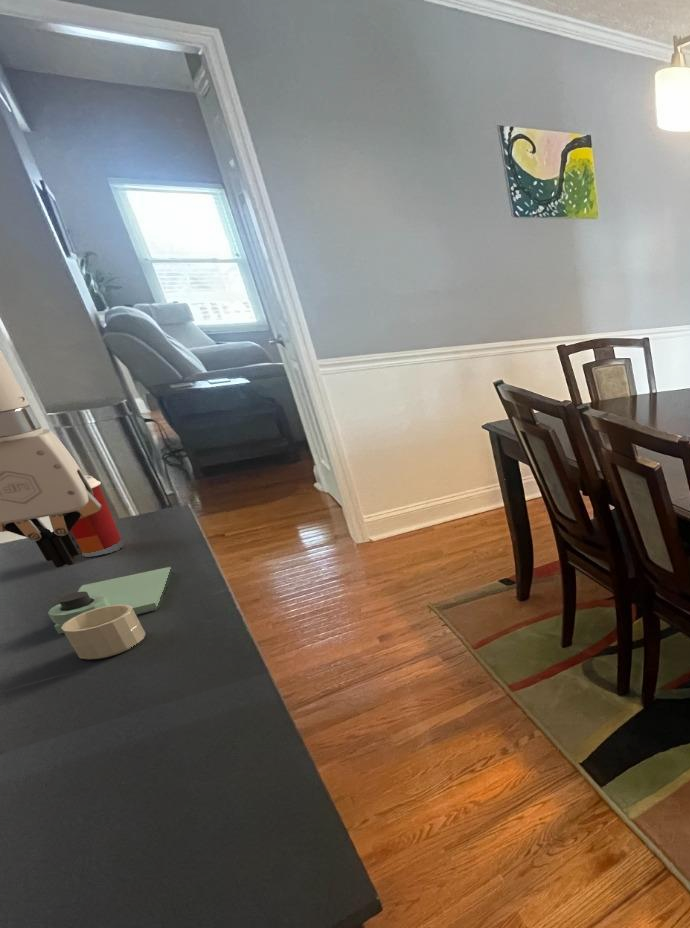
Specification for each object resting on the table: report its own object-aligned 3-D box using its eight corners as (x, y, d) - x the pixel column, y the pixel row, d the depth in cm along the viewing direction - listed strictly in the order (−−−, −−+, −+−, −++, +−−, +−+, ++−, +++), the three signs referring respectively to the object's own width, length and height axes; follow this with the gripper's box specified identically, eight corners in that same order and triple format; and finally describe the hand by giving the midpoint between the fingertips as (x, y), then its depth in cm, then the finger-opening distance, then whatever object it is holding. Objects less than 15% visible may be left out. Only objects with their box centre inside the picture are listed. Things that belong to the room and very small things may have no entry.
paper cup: (125, 539, 118) (92, 471, 112) (136, 548, 113) (101, 479, 108) (69, 553, 112) (31, 483, 106) (78, 564, 108) (38, 492, 102)
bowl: (73, 668, 79) (54, 637, 77) (86, 644, 84) (69, 614, 82) (142, 650, 83) (125, 620, 81) (150, 628, 88) (135, 599, 86)
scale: (53, 637, 86) (42, 619, 85) (81, 593, 98) (72, 577, 97) (158, 611, 92) (150, 595, 91) (173, 573, 104) (166, 558, 102)
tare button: (61, 614, 87) (55, 603, 86) (67, 605, 89) (61, 595, 88) (89, 607, 89) (84, 597, 88) (94, 599, 91) (89, 589, 90)
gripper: (-124, 444, 64) (-27, 591, 72) (71, 421, 72) (139, 556, 80) (-92, 430, 70) (-5, 568, 77) (86, 410, 78) (149, 537, 85)
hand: (68, 562), depth 79 cm, fingers closed
